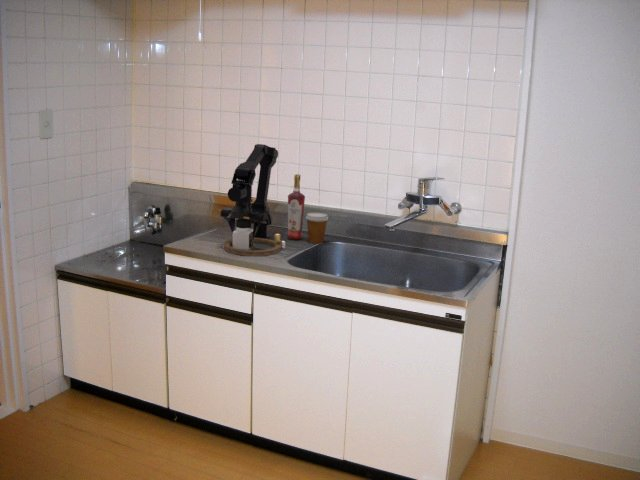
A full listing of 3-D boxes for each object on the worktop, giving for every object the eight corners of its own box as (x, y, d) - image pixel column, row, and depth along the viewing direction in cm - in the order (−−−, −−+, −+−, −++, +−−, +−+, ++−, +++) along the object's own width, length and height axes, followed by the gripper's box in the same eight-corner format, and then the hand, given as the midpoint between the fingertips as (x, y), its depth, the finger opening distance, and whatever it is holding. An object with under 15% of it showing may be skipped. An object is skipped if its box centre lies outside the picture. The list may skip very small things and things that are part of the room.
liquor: (284, 239, 313) (287, 175, 306) (288, 235, 320) (290, 173, 313) (301, 241, 312) (304, 176, 305) (304, 237, 319) (307, 174, 312)
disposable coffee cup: (328, 244, 309) (330, 217, 306) (306, 244, 307) (307, 216, 304) (324, 239, 318) (326, 212, 315) (303, 239, 316) (304, 212, 313)
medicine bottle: (249, 250, 294) (249, 221, 291) (232, 248, 295) (232, 219, 292) (254, 246, 300) (254, 217, 297) (237, 244, 302) (238, 216, 299)
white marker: (282, 248, 299) (282, 242, 299) (280, 246, 301) (281, 240, 301) (285, 248, 300) (285, 242, 299) (283, 246, 302) (283, 240, 301)
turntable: (219, 242, 303) (219, 229, 302) (272, 240, 311) (273, 227, 309) (230, 256, 282) (230, 243, 281) (287, 254, 290) (288, 241, 288)
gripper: (214, 198, 288) (214, 236, 291) (258, 203, 282) (257, 242, 286) (226, 193, 298) (225, 230, 302) (268, 198, 293) (267, 236, 297)
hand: (243, 234), depth 296 cm, fingers open, 9 cm apart
